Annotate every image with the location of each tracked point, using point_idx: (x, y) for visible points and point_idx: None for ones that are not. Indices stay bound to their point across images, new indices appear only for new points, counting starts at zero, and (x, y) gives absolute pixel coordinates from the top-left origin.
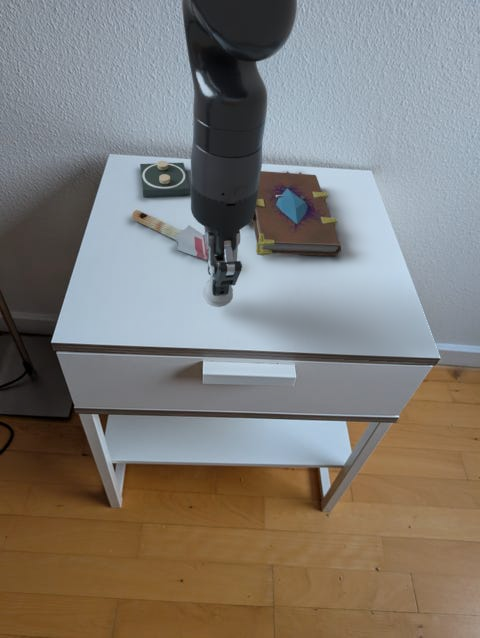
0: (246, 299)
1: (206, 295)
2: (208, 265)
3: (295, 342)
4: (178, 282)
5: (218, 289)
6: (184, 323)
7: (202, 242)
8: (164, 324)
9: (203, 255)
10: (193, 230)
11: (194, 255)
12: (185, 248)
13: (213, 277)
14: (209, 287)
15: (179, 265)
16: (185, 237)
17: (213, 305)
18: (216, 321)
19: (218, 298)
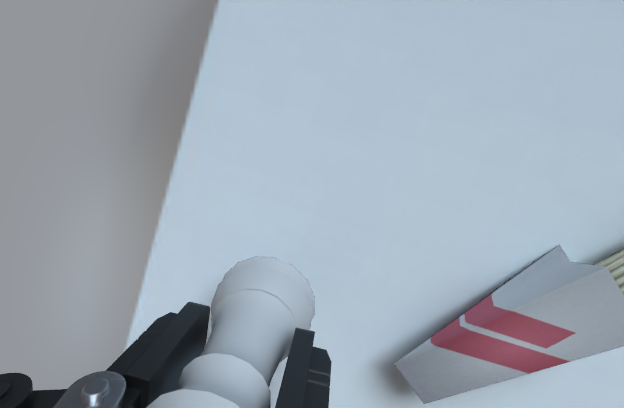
0: None
1: (244, 272)
2: (296, 357)
3: None
4: (410, 204)
5: (136, 344)
6: (251, 170)
7: (530, 344)
8: (263, 113)
9: (473, 320)
10: (609, 341)
11: (497, 290)
12: (538, 277)
13: (98, 380)
14: (241, 301)
15: (481, 230)
16: (585, 301)
17: (226, 274)
18: (235, 254)
19: (214, 304)
